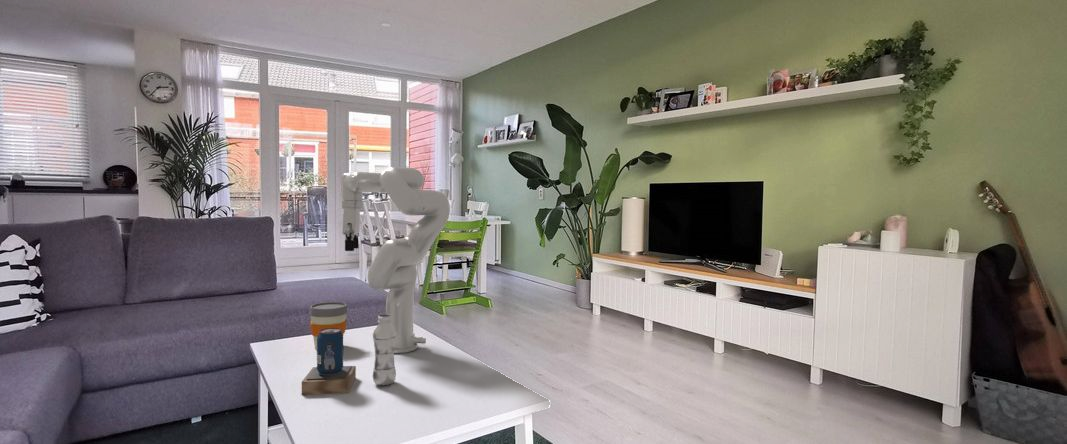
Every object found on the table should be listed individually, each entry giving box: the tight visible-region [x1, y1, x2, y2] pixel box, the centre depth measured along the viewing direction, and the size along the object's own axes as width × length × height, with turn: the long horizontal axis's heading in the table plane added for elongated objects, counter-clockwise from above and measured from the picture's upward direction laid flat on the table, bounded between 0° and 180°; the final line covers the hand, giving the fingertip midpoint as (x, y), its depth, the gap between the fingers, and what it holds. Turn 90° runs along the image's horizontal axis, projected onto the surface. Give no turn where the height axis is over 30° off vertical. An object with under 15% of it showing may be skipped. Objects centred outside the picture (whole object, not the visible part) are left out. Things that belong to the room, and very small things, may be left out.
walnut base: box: [301, 365, 357, 396], centre depth 146 cm, size 12×12×4 cm
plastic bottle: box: [372, 313, 397, 386], centre depth 149 cm, size 6×7×20 cm
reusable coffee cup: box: [308, 301, 348, 351], centre depth 183 cm, size 13×13×15 cm
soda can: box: [316, 328, 344, 375], centre depth 146 cm, size 7×7×12 cm
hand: (351, 249), depth 199 cm, fingers open, 9 cm apart
